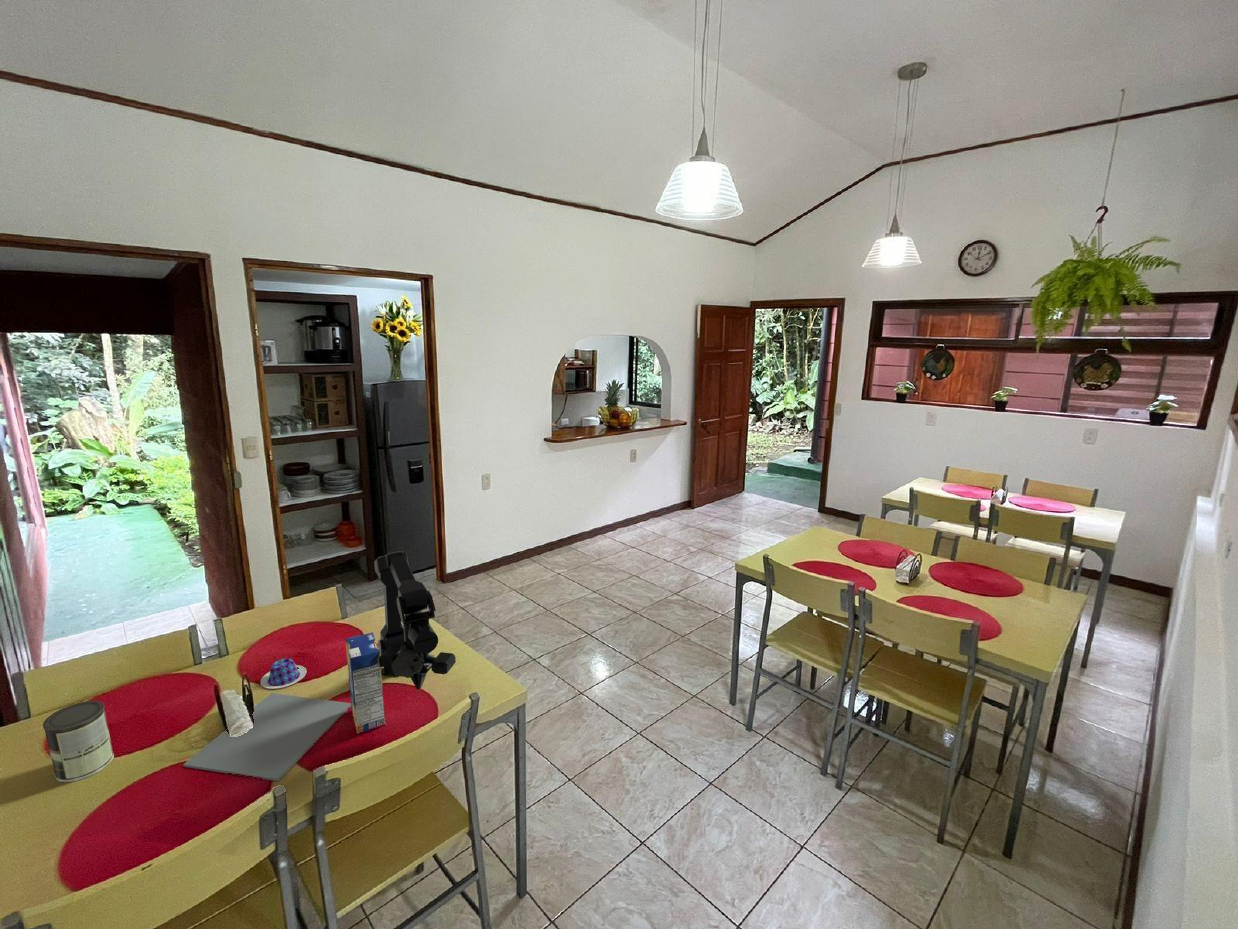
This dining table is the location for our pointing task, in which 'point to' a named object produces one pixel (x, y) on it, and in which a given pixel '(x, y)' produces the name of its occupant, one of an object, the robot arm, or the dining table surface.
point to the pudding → (283, 674)
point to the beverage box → (365, 682)
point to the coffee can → (78, 741)
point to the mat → (271, 737)
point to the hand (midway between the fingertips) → (419, 688)
